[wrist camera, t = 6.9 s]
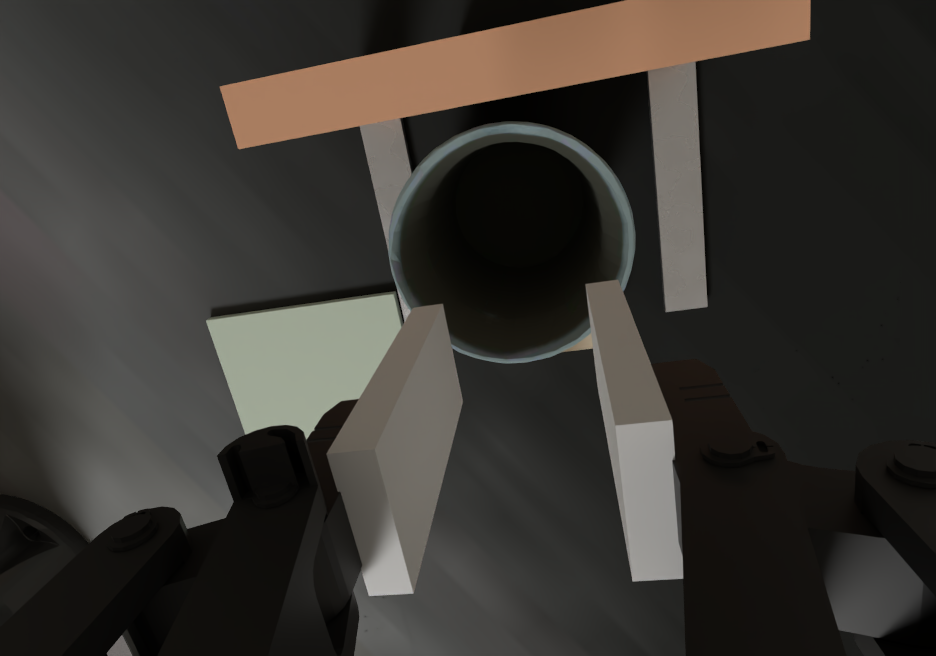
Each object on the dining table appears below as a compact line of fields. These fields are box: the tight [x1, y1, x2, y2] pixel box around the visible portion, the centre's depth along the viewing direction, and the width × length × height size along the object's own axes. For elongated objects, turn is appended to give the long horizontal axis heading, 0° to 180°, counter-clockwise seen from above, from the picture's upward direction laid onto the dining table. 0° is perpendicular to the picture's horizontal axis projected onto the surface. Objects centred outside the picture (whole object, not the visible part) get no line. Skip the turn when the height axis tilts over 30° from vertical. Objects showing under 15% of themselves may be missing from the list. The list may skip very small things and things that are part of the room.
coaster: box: [206, 291, 403, 440], centre depth 42 cm, size 13×13×1 cm
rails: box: [360, 62, 707, 321], centre depth 36 cm, size 18×15×1 cm
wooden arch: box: [220, 0, 810, 149], centre depth 26 cm, size 18×2×15 cm, turn 100°
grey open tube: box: [388, 121, 635, 363], centre depth 31 cm, size 10×10×12 cm
